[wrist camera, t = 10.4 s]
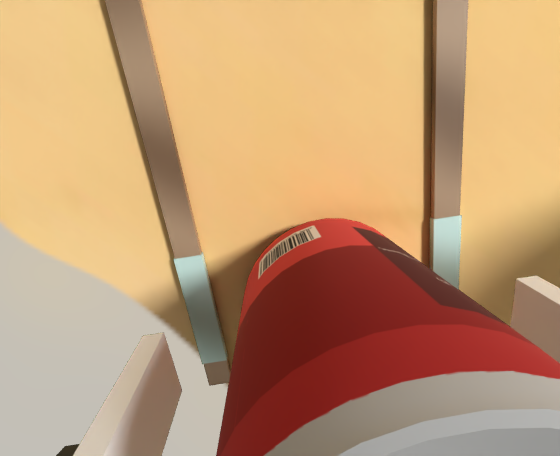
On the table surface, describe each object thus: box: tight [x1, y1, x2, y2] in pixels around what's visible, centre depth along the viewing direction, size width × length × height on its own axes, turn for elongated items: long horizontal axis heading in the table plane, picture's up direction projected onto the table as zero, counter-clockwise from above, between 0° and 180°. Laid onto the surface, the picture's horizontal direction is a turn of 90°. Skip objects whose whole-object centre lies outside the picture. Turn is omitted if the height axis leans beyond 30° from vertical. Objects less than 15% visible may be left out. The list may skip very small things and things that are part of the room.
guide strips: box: [105, 0, 468, 385], centre depth 13 cm, size 27×14×1 cm, turn 8°
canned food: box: [216, 218, 560, 456], centre depth 10 cm, size 8×8×11 cm
